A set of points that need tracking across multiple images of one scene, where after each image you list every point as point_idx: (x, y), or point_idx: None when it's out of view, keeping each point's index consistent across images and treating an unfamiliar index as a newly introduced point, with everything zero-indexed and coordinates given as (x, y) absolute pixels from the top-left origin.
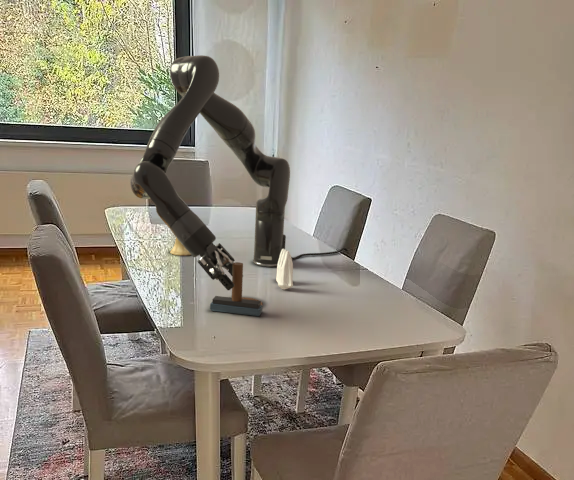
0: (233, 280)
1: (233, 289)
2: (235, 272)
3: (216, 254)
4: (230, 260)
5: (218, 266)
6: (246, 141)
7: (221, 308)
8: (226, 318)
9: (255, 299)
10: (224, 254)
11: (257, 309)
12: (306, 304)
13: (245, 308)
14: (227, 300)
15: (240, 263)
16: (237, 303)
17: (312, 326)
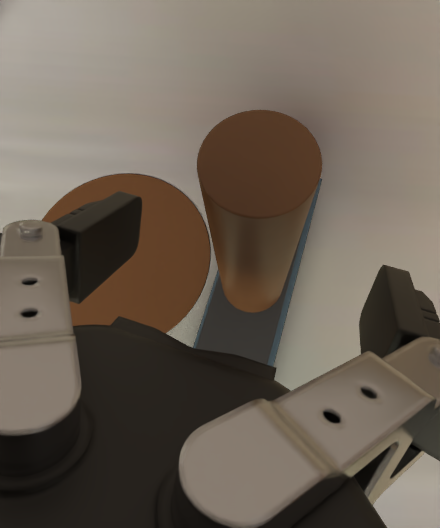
0: (281, 267)
1: (279, 286)
2: (302, 224)
3: (315, 464)
4: (20, 247)
5: (432, 413)
6: None
7: None
8: (355, 355)
9: (63, 200)
10: (23, 300)
11: (318, 189)
12: (136, 15)
13: (303, 247)
14: (266, 338)
15: (249, 134)
16: (288, 282)
17: (398, 15)
